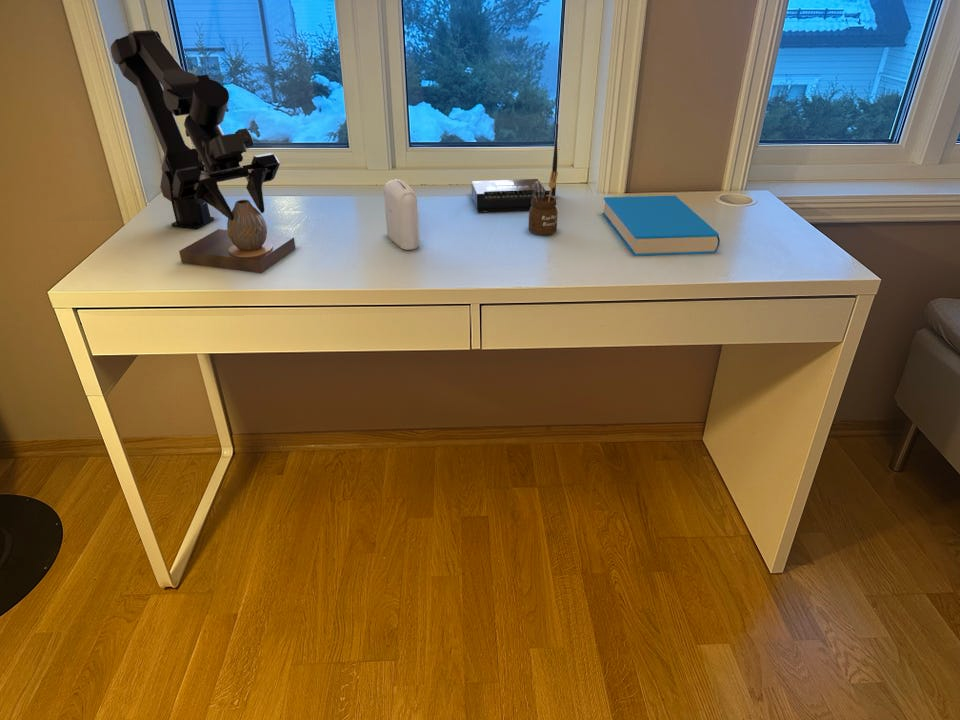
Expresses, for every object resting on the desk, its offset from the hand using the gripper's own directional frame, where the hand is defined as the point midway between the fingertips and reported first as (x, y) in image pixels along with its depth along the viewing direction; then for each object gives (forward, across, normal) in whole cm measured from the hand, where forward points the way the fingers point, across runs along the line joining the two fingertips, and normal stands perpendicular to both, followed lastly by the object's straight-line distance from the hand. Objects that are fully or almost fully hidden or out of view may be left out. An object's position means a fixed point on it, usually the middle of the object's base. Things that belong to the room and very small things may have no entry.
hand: (247, 215), depth 123 cm
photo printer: (+13, +27, 0) cm, 30 cm away
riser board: (+3, -1, +11) cm, 11 cm away
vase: (+4, 0, +6) cm, 7 cm away
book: (+35, +70, -22) cm, 82 cm away
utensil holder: (+24, +53, -10) cm, 59 cm away
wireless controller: (+11, +63, +3) cm, 64 cm away
